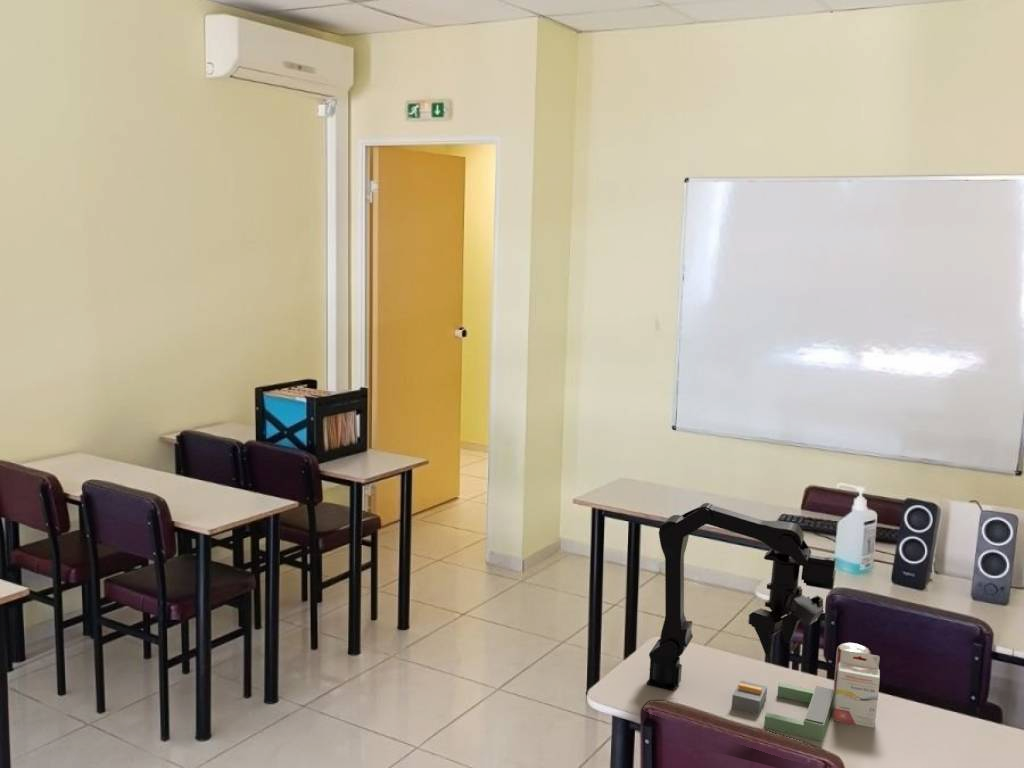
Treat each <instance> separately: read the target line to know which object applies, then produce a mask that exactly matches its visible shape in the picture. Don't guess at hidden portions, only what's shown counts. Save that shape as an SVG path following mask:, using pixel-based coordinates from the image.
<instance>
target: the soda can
mask: <svg viewBox="0 0 1024 768" xmlns="http://www.w3.org/2000/svg"><path fill="white" fill-rule="evenodd" d="M841 650H847V651H854V652H860V653H865V654H871V655H872V652H871V650H869V648H868V647H867V646H864V645H862V644H858V643H856V642H843V643H841V644H840V645H838V646H837V648H836V656H835V667H834V668H835V669H834V679H833V681H834V682H833V690H835V691H834V697H835V695H836V686H837V676H838V666H839V662H840V656H841ZM853 659H857V660H862V661H866V660H867V659H865V658H862V657H861V656H859V657H853Z"/></svg>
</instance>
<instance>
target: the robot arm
mask: <svg viewBox="0 0 1024 768" xmlns="http://www.w3.org/2000/svg"><path fill="white" fill-rule="evenodd" d="M705 525H709V526H712V527H715V528H719V529H721V530H725V531H728V532H731V533H735V534H738V535H742V536H745V537H747V538H751V539H754V540H757V541H759V542H761V543H763V544H764V545H765V546H767V547H768V548H769V549H770V550H769V551H767V552H766V553H765V554H764V556H763V559H764V560H765V561H766V560H767V561H771V562H772V566H771V567H772V570H771V576H770V577H771V578H770V582H769V583H766V589H767V590H769V597H768V598H769V599H768V600H766V601H765V602H764V607H766V608H769V610H767V609H765V608H761V607H760V608H758V609H756V610H754V611H752V612H750V613H749V614H748V621H747V622H748V625H751V627H752V628H753V629H754V630H755V632H756V635H757V636H758V640H759V642H760V644H761V646H762V649H763V652H764V653H765V654H766V655H769V656H770V655H771V653H772V649H773V645H774V641H775V637H776V634H777V633H778V632H781V631H782V633H783V637H784V642H785V643H788V644H791V642H792V639H793V637H794V635H795V633H796V630H797V628H798V626H799V624H800V621H801V622H802V623H803V624H804V625H806V626H811V625H812V624H813V623H816V622H817V621H818V620H819V618H820V616H821V614H823V613H824V612H825V611H824V609H825V606H824V598H823V597H821V596H820V595H819V594H818V595H817V594H816V595H815V596H813V597H812V598H811V597H810V596H805V595H803V588H802V586H800V585H799V579H800V578H801V581H803V583H804V584H805V586H808V587H813V588H817V589H822V590H823V589H824V590H830V591H834V586H835V580H836V574H837V573H836V559H837V558H835V557H831V556H829V557H828V556H826V557H825V556H819V555H815V554H812V550H811V549H810V546H808V544H807V542H806V541H805V539H804V538H805V535H804V534H805V533H804V531H803V530H802V528H801V526H800V525H799V524H797V523H795V522H791V521H783V520H782V521H781V520H764V519H759V518H756V517H753V516H749V515H746V514H743V513H740V512H737V511H732V510H729V509H726V508H724V507H720V506H715V505H714V504H712V503H710V502H709V503H708V502H705V503H703V504H701V505H700V506H699V507H695V508H693V509H691V510H689V511H687V512H684V513H683V514H681V515H680V514H674V515H673V514H672V515H670V516H669V517H668V518H667V519H666V520H665V521H664V522H663V523H662V524H661V525H660V527H659V530H658V537H659V543H660V548H661V550H662V553H663V556H664V564H665V565H664V567H665V568H664V569H665V570H664V571H665V574H664V576H665V577H664V580H665V584H664V585H665V586H664V591H665V595H664V598H665V605H664V606H665V609H664V611H665V612H664V613H665V617H664V621H663V625H662V629H661V633H660V638H659V639H658V640H657V641H656V643H655V644H654V646H653V647H652V649H651V650H650V651H649V653H648V656H649V659H650V661H649V676H648V680H647V681H646V685H648V686H653V687H656V688H662V689H665V690H670V691H674V690H675V689H676V688H677V686H678V685H679V684H680V682H681V681H682V672H683V671H682V670H683V669H682V667H683V665H682V663H681V657H680V656H681V655H683V654H684V651H685V650H686V648H688V646H689V644H690V643H691V640H693V637H694V636H693V632H692V628H693V620H687V619H686V616H685V575H684V574H685V553H686V549H687V545H688V543H689V536H690V534H692V533H693V532H695V531H696V530H699V529H701V528H702V527H703V526H705ZM801 567H802V569H801V577H800V576H799V575H800V568H801ZM799 577H800V578H799Z"/></svg>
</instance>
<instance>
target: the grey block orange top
mask: <svg viewBox="0 0 1024 768" xmlns="http://www.w3.org/2000/svg"><path fill="white" fill-rule="evenodd" d="M767 694H768V686H766V685H762V684H758V683H753V682H749V681H744V680H740V681H739V682H738V685H737V686H736V688H735V690H734V692H733V693H732V696H731V697H732V698H731V709H732V710H735V711H739V712H744V713H748V714H752V715H757V716H759V715H760V714H761V712H762V709H763V708H764V705H765V703H766V701H767Z"/></svg>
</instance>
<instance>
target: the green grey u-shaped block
mask: <svg viewBox="0 0 1024 768" xmlns="http://www.w3.org/2000/svg"><path fill="white" fill-rule="evenodd" d="M834 691H835V690H834V688H829V687H824V686H818V685H816V686H815V689H812V688H807V687H802V686H798V685H794V684H789V683H785V682H779V684H778V686H777V696H776V697H780V698H783V699H788V700H791V701H792V700H794V701H797V702H803V703H805V704H808V705H809V706H808V708H807V711H806V713H805V717H804V720H802V719H797V718H793V717H789V716H784V715H780V714H776V713H772V712H766V713H765V715H764V723H763V725H764V726H763V728H764V729H765V728H767V729H770V730H775V731H778V732H783V733H787V734H791V735H795V736H799V737H804V738H808V739H812V740H817V741H819V742H820V741H821V742H823V741H824V738H825V733H826V730H827V728H828V727H827V726H828V723H829V721H830V717H831V714H832V710H833V707H834V703H835V696H834Z"/></svg>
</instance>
